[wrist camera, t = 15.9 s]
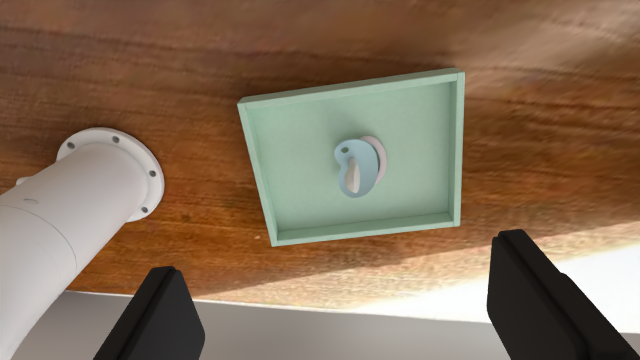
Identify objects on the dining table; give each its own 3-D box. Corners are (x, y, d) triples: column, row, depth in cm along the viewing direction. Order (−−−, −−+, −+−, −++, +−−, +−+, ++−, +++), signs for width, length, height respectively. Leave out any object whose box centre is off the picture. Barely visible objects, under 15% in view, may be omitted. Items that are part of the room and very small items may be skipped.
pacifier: (383, 127, 42) (331, 135, 42) (394, 147, 36) (334, 155, 36) (387, 184, 45) (339, 190, 45) (398, 210, 39) (343, 217, 39)
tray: (274, 233, 49) (271, 246, 46) (242, 97, 41) (236, 103, 38) (452, 213, 47) (460, 225, 45) (455, 66, 39) (465, 71, 36)
